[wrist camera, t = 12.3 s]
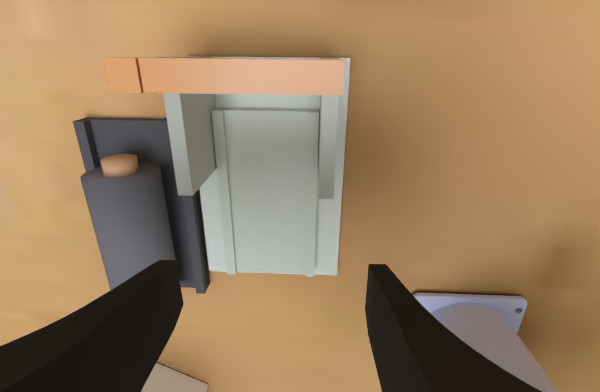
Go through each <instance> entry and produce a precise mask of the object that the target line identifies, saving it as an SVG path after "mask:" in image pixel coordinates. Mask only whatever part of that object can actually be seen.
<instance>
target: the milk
mask: <svg viewBox="0 0 600 392" xmlns="http://www.w3.org/2000/svg"><path fill="white" fill-rule="evenodd" d="M207 388H208V384H206V383H204V382H201V381H199V380H197V379H194V378H192V377H189V376H187V375H185V374H182V373H180V372H177V371H175V370H173V369H170V368H168V367H166V366H163V365H161V364H158V363H156V364H155V366H154V368H153V370H152V372H151V373H150V375H149V377H148V379H147V381H146V383H145V385H144V387H143V389H142V391H141V392H206V391H207Z"/></svg>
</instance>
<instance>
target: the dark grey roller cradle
mask: <svg viewBox="0 0 600 392" xmlns="http://www.w3.org/2000/svg"><path fill="white" fill-rule="evenodd" d="M73 124H74V128H75V131H76V135H77V139H78V143H79V147H80V151H81V155H82V158H83V162H84V166H85V170H86V172H88V171H90V170H92V169H95V168H98V167H101V166H102V165H101V159H103V158H105V157H108V156H112V155H119V154H133V155H136V156H137V160H138V162H150V163H154V164H157V165H159V166H160V170H161V176H162V182H163V188H164V194H165V199H166V205H167V211H168V217H169V223H170V229H171V235H172V241H173V247H174V253H175V259H176V265H177V271H178V277H179V282H180V287H192V288H196V293H204V294H205V292H206V290H207V288H208V286H209V284H210V280H209V272H208V264H207V255H206V247H205V239H204V231H203V222H202V214H201V206H200V198H199V189H198V190H197V191H196V193H195V194H194V195H193V196H187V195H178V191H177V184H176V178H175V171H174V164H173V157H172V151H171V144H170V137H169V130H168V124H167V119H127V118H84V119H80V120H77V121H73Z"/></svg>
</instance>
